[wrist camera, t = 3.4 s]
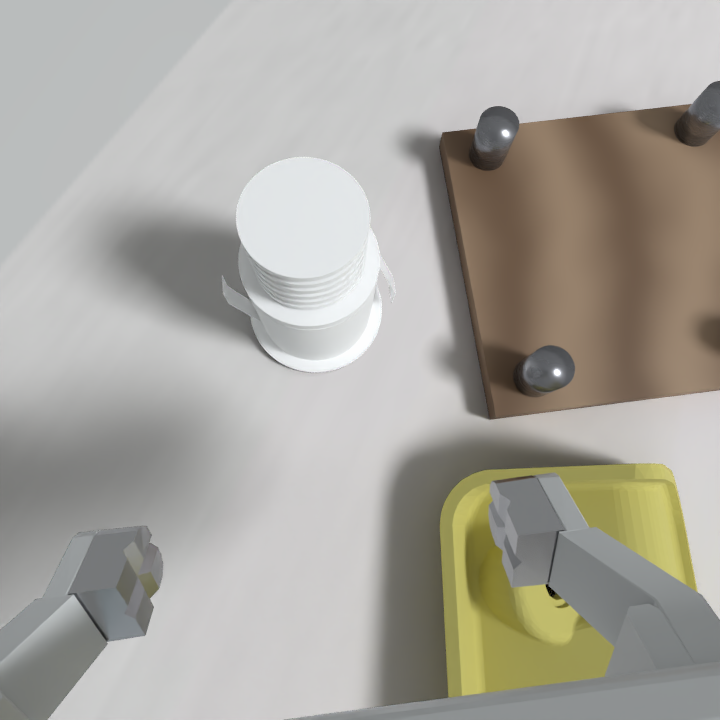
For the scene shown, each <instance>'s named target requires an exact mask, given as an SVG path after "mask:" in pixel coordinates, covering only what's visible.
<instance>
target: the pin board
mask: <svg viewBox="0 0 720 720" xmlns="http://www.w3.org/2000/svg"><path fill="white" fill-rule="evenodd" d="M439 148H440V153H441V158H442V164H443V169H444V175H445V180H446V185H447V191H448V196H449V202H450V207H451V212H452V218H453V223H454V229H455V234H456V240H457V245H458V250H459V256H460V261H461V267H462V272H463V277H464V283H465V288H466V294H467V299H468V304H469V310H470V315H471V321H472V326H473V332H474V337H475V342H476V348H477V353H478V359H479V364H480V369H481V375H482V380H483V386H484V391H485V396H486V402H487V407H488V413H489V418H490V419H498V418H506V417H514V416H522V415H529V414H537V413H545V412H553V411H561V410H568V409H576V408H584V407H592V406H600V405H607V404H615V403H623V402H631V401H639V400H646V399H654V398H662V397H670V396H678V395H685V394H693V393H701V392H709V391H717V390H720V81H717V82H714V83H712V84H710V85H709V86H708V87H707V88H706V89H705V90H704V91H703V92H702V94H701V95H700V96H699V97H698V98H697V99H696V100H695V101H694V102H693V104H688V105H679V106H671V107H662V108H653V109H644V110H636V111H627V112H618V113H609V114H601V115H592V116H583V117H574V118H566V119H557V120H548V121H539V122H530V123H522V124H519V120H518V117H517V116H516V114H515V113H514V112H513V111H511V110H510V109H508V108H506V107H501V106H495V107H491V108H488V109H487V110H485V111H484V112H483V113H482V115H481V117H480V120H479V123H478V126H477V129H469V130H460V131H452V132H443V133H442V137H441V141H440V146H439Z"/></svg>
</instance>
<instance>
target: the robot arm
mask: <svg viewBox="0 0 720 720" xmlns="http://www.w3.org/2000/svg"><path fill="white" fill-rule="evenodd" d="M490 494H491V497H492V500H493V501H492V502H491V503H490V504H489V513H488V516H489V523H490V529H491V533H492V536H493V539H494V542H495V545H496V546H498V547H499V548H500V549H501V550H503V554H502V564H503V566H504V569H505V571H506V574H507V577H508V579H509V582H510V585H511V587H512V588H514V587H524V586H534V585H543V584H549V587H550V588H552V589H553V590H554V591H555V592H556V593H557V594H558V595H559V596H560V597H561V598H562V599H563V600H564V601H566V602H567V603H568V604H569V605H570V606H571V607H572V608H573V609H574V610H575V611H576V612H577V613H578V614H579V615H581V616H582V617H583V618H584V619H585V620H586V621H587V622H588V623H589V624H590V625H591V626H592V627H593V628H595V629H596V630H597V631H598V632H599V633H600V634H601V635H602V636H603V637H604V638H605V639H606V640H607V641H609V642H610V643H611V644H612V645H613V646H614V647H615V648H614V651H613V653H612V656H611V659H610V662H609V665H608V668H607V670H606V673H605V677H598V678H591V679H584V680H576V681H569V682H561V683H554V684H546V685H539V686H532V687H524V688H517V689H509V690H502V691H495V692H487V693H479V694H472V695H464V696H457V697H449V698H442V699H434V700H427V701H419V702H412V703H404V704H397V705H389V706H382V707H374V708H367V709H359V710H352V711H344V712H337V713H329V714H322V715H315V716H307V717H300V718H292V719H285V720H720V620H719V618H718V617H717V615H716V614H715V613H714V611H713V610H712V608H711V607H710V606H709V604H708V603H707V601H706V600H705V599H704V597H703V596H702V595H701V594H699V593H698V592H696V591H695V590H693V589H691V588H690V587H688V586H687V585H685V584H684V583H682V582H681V581H679V580H678V579H676V578H674V577H673V576H671V575H670V574H668V573H667V572H665V571H664V570H662V569H660V568H659V567H657V566H656V565H654V564H653V563H651V562H650V561H648V560H646V559H645V558H643V557H642V556H640V555H639V554H637V553H636V552H634V551H632V550H631V549H629V548H628V547H626V546H625V545H623V544H622V543H620V542H618V541H617V540H615V539H614V538H612V537H611V536H609V535H608V534H606V533H604V532H603V531H601V530H600V529H598V528H597V527H592V528H590V527H589V526H588V524H587V522H586V521H585V519H584V517H583V516H582V514H581V512H580V511H579V509H578V507H577V505H576V504H575V502H574V500H573V499H572V497H571V495H570V494H569V492H568V490H567V488H566V487H565V485H564V483H563V482H562V480H561V478H560V477H559V475H558V474H556V473H555V472H554V473H547V474H539V475H534V476H532V475H530V476H522V477H515V478H508V479H501V480H494V481H492V482H491V484H490ZM151 536H152V534H151V533H150V531H149V529H148V527H147V526H135V527H125V528H115V529H105V530H98V531H89V532H80V533H78V534H77V535H76V536H74V537H73V539H72V540H71V542H70V544H69V546H68V548H67V550H66V552H65V554H64V556H63V558H62V560H61V562H60V564H59V566H58V568H57V570H56V572H55V574H54V576H53V578H52V580H51V582H50V584H49V586H48V588H47V590H46V592H45V594H44V596H43V598H41V599H35V600H34V601H33V602H32V603H31V604H30V605H28V606H27V607H26V608H25V609H24V610H23V611H22V612H20V613H19V614H18V615H17V616H16V617H15V618H14V619H13V620H11V621H10V622H9V623H8V624H7V625H6V626H5V627H3V628H2V629H1V630H0V720H47V719H48V718H49V717H50V716H51V714H52V713H53V712H54V711H55V709H56V708H57V707H58V706H59V704H60V703H61V702H62V701H63V699H64V698H65V697H66V696H67V694H68V693H69V692H70V691H71V689H72V688H73V687H74V686H75V684H76V683H77V682H78V681H79V679H80V678H81V677H82V676H83V674H84V673H85V672H86V671H87V669H88V668H89V667H90V666H91V664H92V663H93V662H94V660H95V659H96V658H97V657H98V655H99V654H100V653H101V652H102V650H103V649H104V648H105V647H106V645H107V644H108V643H107V642H108V641H115V640H121V639H127V638H134V637H140V636H145V635H146V632H147V629H148V625H149V622H150V618H151V615H152V612H153V608H154V606H153V604H152V602H151V600H150V598H151V597H152V596H153V595H154V594H155V592H156V591H157V590H158V589H159V588H160V584H161V580H162V575H163V561H162V556H161V553H160V551H159V548H158V547H156V546H155V545H153V544H151V543H149V542H150V539H151Z"/></svg>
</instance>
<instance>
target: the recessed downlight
mask: <svg viewBox="0 0 720 720" xmlns="http://www.w3.org/2000/svg"><path fill="white" fill-rule="evenodd" d="M236 226H237V231H238V234H239V237H240V240H241V244H240V247H239V253H238V268H239V274H240V278H241V281H242V284H243V286H244V288H245V290H246V292H247V294H248V296H249V298H250V300H249V299H248V298H246V297H244V296H243V295H241V294H240V293H238V292H237V291H235V290H233V289H232V288H230V287H229V286H228V285H227V283H226V281H225V279H224V277H223V275H222V290H223V295H224V297H225V298H226V300H227V302H228V304H230V305H231V306H233V307H235V308H237V309H238V310H240V311H242V312H244V313H245V314H247V315H249V316H250V319H251V324H252V328H253V330H254V333H255V335H256V337H257V339H258V341H259V342H260V344H261V346H262V347H263V348H264V349H265V351H266V352H267V353H268V354H269V355H270V356H272V357H273V358H274V359H275V360H277V361H278V362H280V363H281V364H283V365H285V366H287V367H289V368H292V369H295V370H298V371H303V372H310V373H321V372H329V371H333V370H337V369H339V368H342V367H344V366H346V365H348V364H350V363H352V362H353V361H355V360H356V359H357V358H359V357H360V356H361V355H362V354H363V353H364V352H365V351H366V350H367V349H368V348H369V346H370V345H371V343H372V342H373V340H374V338H375V336H376V334H377V332H378V329H379V326H380V322H381V316H382V302H381V296H380V292H379V289H378V287H377V279H378V274H379V269H380V270H381V272H382V273H383V275H384V277H385V278H386V280H387V282H388V283H389V292H390V299H391V303H392V301H393V299H394V297H395V294H396V291H395V285H394V278H393V276H392V274H391V272H390V270H389V268H388V267H387V265H386V263H385V261H384V260H383V258H382V256H381V254H380V251H379V246H378V243H377V239H376V237H375V235H374V233H373V231H372V229H371V227H370V208H369V203H368V200H367V197H366V195H365V193H364V191H363V189H362V187H361V186H360V184H359V183H358V182H357V181H356V179H355V178H354V177H353V176H352V175H351V174H350V173H348V172H347V171H346V170H344V169H343V168H341V167H340V166H338V165H336V164H334V163H332V162H329V161H326V160H323V159H319V158H313V157H294V158H288V159H284V160H280V161H277V162H275V163H273V164H271V165H269V166H267V167H265V168H264V169H262V170H261V171H260V172H258V173H257V174H256V175H255V176H254V177H253V178H252V179H251V180H250V181H249V182H248V184H247V185H246V186H245V188H244V190H243V192H242V193H241V196H240V198H239V201H238V205H237V210H236Z"/></svg>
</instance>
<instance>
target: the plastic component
mask: <svg viewBox="0 0 720 720" xmlns="http://www.w3.org/2000/svg"><path fill="white" fill-rule="evenodd" d="M554 472H555V473H556V474H558V475H559V477H560V478H561V480H562V482H563V483H564V485H565V487H566V488H567V490H568V492H569V494H570V495H571V497H572V499H573V500H574V502H575V504H576V505H577V507H578V509H579V511H580V512H581V514H582V516H583V517H584V519H585V521H586V522H587V524H588V526H589V527H590V528H592V527H597V528H598V529H600V530H601V531H603V532H604V533H606V534H608V535H609V536H611V537H612V538H614V539H615V540H617V541H618V542H620V543H622V544H623V545H625V546H626V547H628V548H629V549H631V550H632V551H634V552H636V553H637V554H639V555H640V556H642V557H643V558H645V559H646V560H648V561H650V562H651V563H653V564H654V565H656V566H657V567H659V568H660V569H662V570H664V571H665V572H667V573H668V574H670V575H671V576H673V577H674V578H676V579H678V580H679V581H681V582H682V583H684V584H685V585H687V586H688V587H690V588H691V589H693V590H695V591H696V592H698V591H697V586H696V581H695V576H694V570H693V565H692V560H691V554H690V549H689V544H688V539H687V533H686V528H685V523H684V518H683V513H682V508H681V503H680V499H679V495H678V491H677V487H676V483H675V479H674V476H673V473H672V471H671V470H670V469H669V468H667V467H666V466H665V465H663V464H616V465H591V466H567V467H542V468H518V469H493V470H484V471H480V472H476V473H473V474H471V475H470V476H468V477H466V478H464V479H463V480H461V481H460V482H459V483H458V484H457V485H456V486H455V487H454V488H453V489H452V490H451V492H450V493H449V495H448V497H447V498H446V500H445V503H444V505H443V508H442V511H441V518H440V542H441V562H442V582H443V602H444V621H445V641H446V661H447V681H448V698H449V697H457V696H464V695H472V694H479V693H487V692H495V691H502V690H509V689H517V688H524V687H532V686H539V685H546V684H554V683H561V682H569V681H576V680H584V679H591V678H598V677H605V673H606V670H607V668H608V665H609V662H610V659H611V656H612V653H613V651H614V648H615V647H614V646H613V645H612V644H611V643H610V642H609V641H607V640H606V639H605V638H604V637H603V636H602V635H601V634H600V633H599V632H598V631H597V630H596V629H595V628H593V627H592V626H591V625H590V624H589V623H588V622H587V621H586V620H585V619H584V618H583V617H582V616H581V615H579V614H578V613H577V612H576V611H575V610H574V609H573V608H572V607H571V606H570V605H569V604H568V603H567V602H566V601H564V600H563V599H562V598H561V597H560V596H559V595H558V594H557V593H556V594H555V596H554V597H551V596H549V594H548V591H547V589H546V584H543V585H534V586H524V587H514V588H512V587H511V585H510V582H509V579H508V577H507V574H506V571H505V569H504V566H503V564H502V554H503V550H501V549H500V548H499V547H498V546H496V545H495V542H494V539H493V536H492V533H491V529H490V523H489V516H488V513H489V504H490V503H491V502H492V501H493V500H492V497H491V494H490V484H491V482H492V481H494V480H501V479H508V478H515V477H522V476H530V475H532V476H534V475H539V474H547V473H554Z"/></svg>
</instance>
